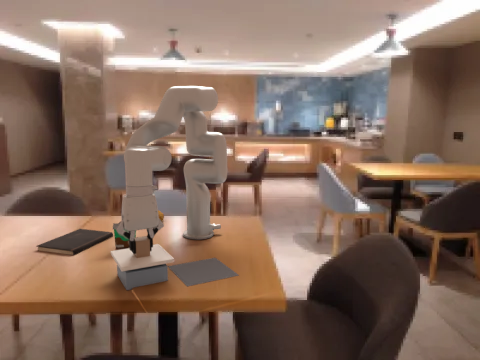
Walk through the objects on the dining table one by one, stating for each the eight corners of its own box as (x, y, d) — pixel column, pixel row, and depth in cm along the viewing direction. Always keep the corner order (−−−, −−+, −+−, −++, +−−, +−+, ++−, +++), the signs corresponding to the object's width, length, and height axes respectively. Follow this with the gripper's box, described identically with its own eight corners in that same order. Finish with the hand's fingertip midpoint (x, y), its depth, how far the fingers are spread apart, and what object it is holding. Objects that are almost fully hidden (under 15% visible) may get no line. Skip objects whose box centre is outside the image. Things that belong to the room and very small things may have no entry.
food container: (129, 251, 139) (128, 224, 137) (113, 250, 140) (112, 223, 138) (144, 241, 151) (143, 216, 149) (129, 240, 152) (128, 215, 150)
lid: (158, 246, 125) (158, 228, 124) (174, 262, 112) (173, 242, 111) (110, 254, 118) (109, 235, 117) (121, 271, 105) (120, 250, 104)
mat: (215, 258, 133) (215, 257, 133) (239, 276, 118) (239, 275, 118) (167, 267, 124) (167, 266, 124) (187, 288, 110) (187, 286, 110)
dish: (155, 268, 124) (155, 253, 123) (167, 282, 114) (167, 265, 113) (117, 275, 118) (116, 259, 118) (126, 290, 108) (126, 273, 107)
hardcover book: (36, 251, 139) (36, 245, 139) (80, 233, 161) (80, 228, 161) (73, 256, 135) (73, 250, 134) (113, 237, 156) (113, 232, 156)
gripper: (163, 186, 119) (164, 243, 122) (107, 191, 111) (109, 251, 114) (171, 190, 113) (172, 250, 116) (112, 195, 105) (115, 260, 107)
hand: (141, 250), depth 115 cm, fingers closed on lid, 3 cm apart
